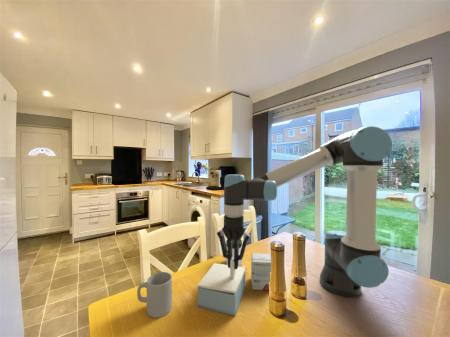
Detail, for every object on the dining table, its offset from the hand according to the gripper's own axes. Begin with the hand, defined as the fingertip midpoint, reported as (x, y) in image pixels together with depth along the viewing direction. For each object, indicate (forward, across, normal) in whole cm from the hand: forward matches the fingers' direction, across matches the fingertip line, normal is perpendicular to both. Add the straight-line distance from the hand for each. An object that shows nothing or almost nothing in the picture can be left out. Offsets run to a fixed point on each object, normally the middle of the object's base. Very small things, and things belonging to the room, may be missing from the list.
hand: (232, 276), depth 74 cm
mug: (+9, +25, +14) cm, 30 cm away
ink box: (+9, -9, -13) cm, 18 cm away
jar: (+9, +7, -26) cm, 28 cm away
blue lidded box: (+9, +4, 0) cm, 10 cm away
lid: (+1, +4, 0) cm, 4 cm away
